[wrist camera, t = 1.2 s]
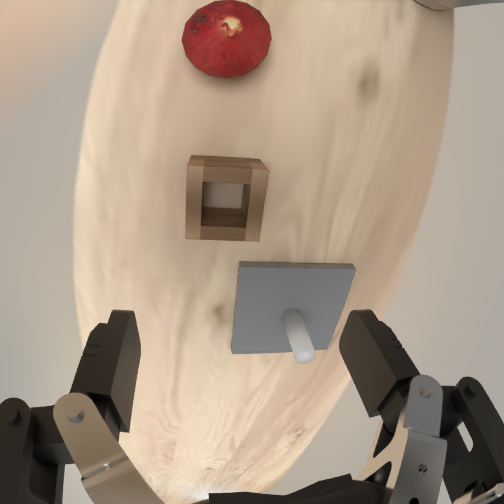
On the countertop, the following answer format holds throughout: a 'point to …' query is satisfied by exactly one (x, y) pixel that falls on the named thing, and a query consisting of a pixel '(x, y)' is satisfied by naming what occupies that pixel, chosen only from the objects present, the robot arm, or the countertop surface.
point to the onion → (226, 38)
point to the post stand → (288, 307)
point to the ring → (225, 219)
